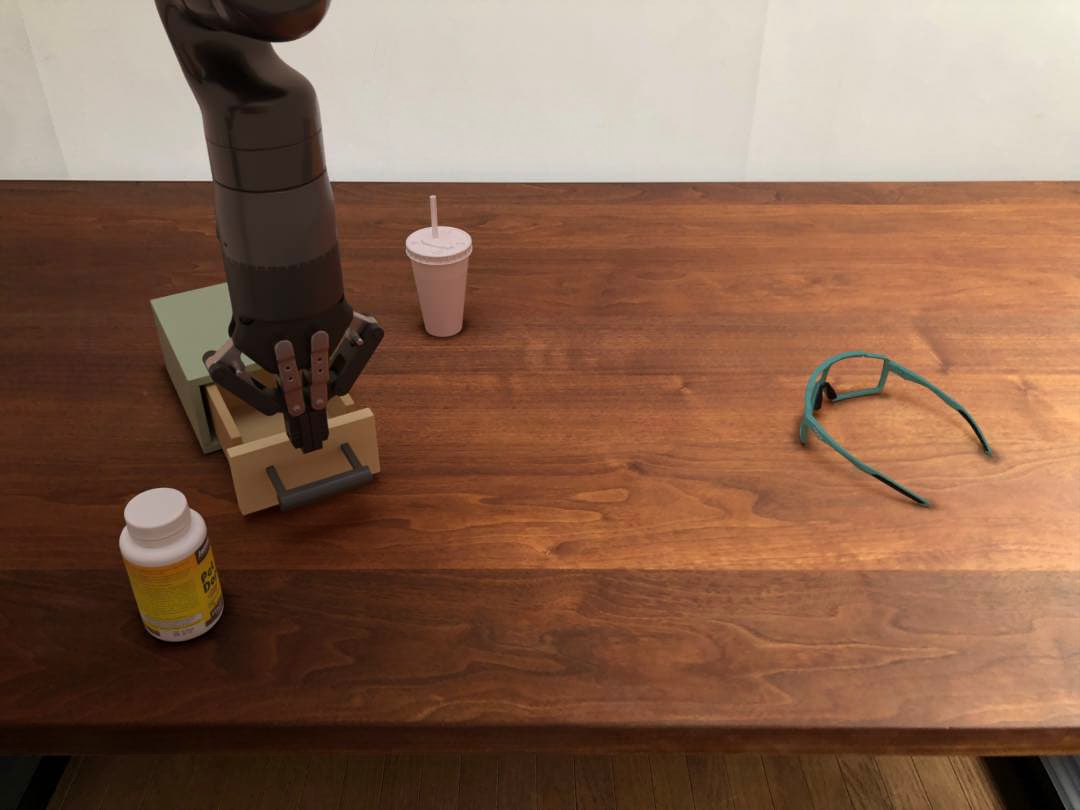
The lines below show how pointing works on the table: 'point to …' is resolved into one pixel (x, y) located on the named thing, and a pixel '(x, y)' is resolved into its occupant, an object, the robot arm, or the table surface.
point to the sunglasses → (821, 385)
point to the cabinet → (195, 348)
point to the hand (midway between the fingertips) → (309, 445)
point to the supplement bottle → (170, 565)
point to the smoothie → (440, 274)
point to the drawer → (291, 451)
